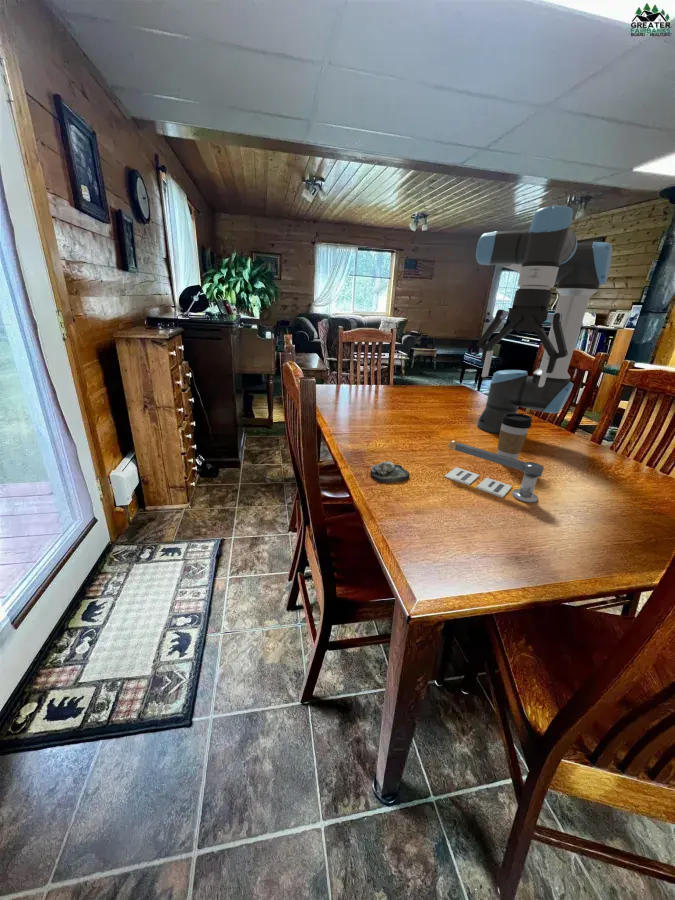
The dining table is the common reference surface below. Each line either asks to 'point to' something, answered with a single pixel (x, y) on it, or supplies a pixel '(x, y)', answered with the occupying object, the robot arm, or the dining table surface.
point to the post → (526, 490)
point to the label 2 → (494, 487)
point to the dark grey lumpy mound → (389, 472)
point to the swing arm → (499, 459)
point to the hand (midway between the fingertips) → (511, 381)
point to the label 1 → (462, 476)
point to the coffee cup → (513, 434)
